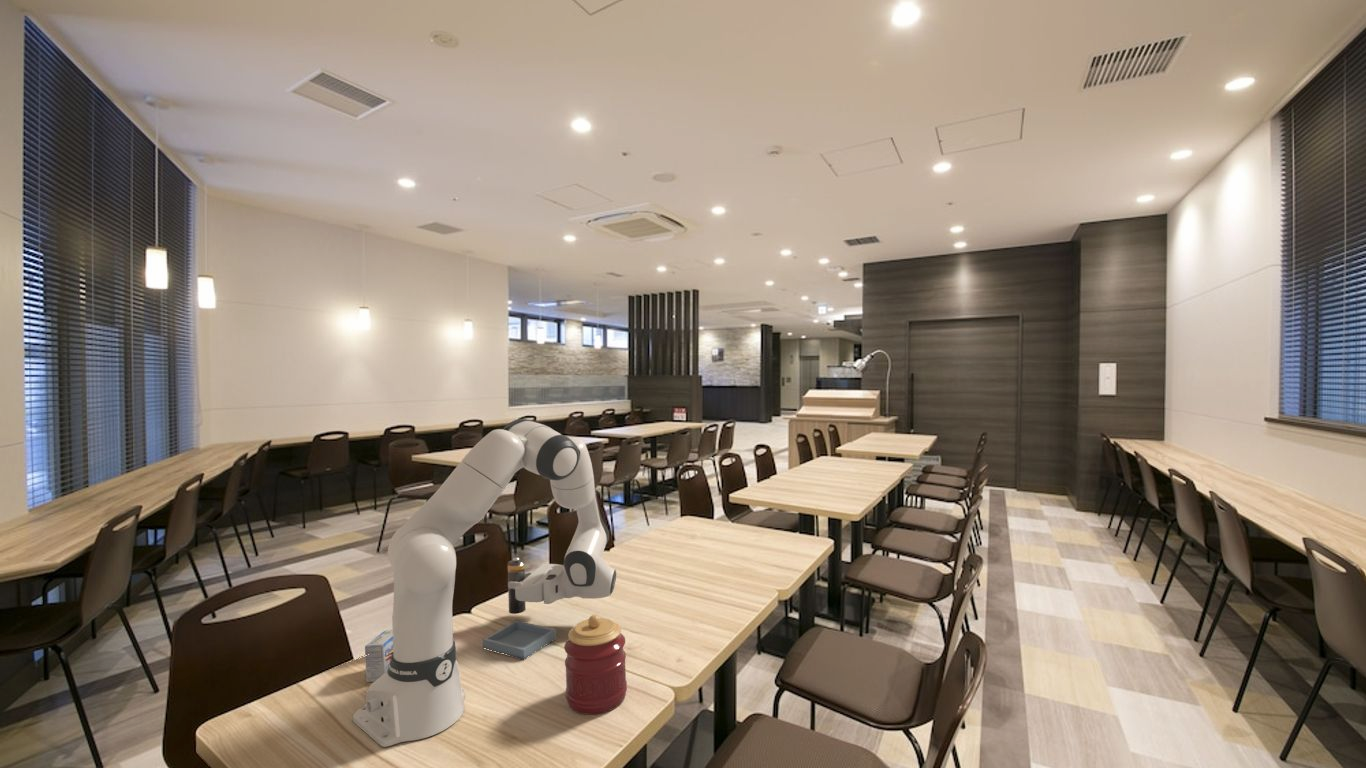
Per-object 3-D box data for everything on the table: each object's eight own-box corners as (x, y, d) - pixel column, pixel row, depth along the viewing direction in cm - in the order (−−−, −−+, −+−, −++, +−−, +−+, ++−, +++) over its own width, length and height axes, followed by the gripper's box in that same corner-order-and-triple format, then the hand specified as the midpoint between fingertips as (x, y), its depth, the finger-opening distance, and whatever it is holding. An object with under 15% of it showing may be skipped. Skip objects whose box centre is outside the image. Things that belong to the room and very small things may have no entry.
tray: (483, 649, 137) (482, 639, 137) (516, 629, 148) (516, 620, 148) (524, 660, 131) (523, 649, 131) (556, 638, 142) (555, 629, 142)
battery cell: (505, 612, 152) (504, 559, 152) (516, 606, 156) (515, 554, 156) (517, 614, 149) (516, 561, 150) (529, 608, 154) (527, 556, 154)
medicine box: (384, 682, 123) (383, 645, 123) (365, 682, 123) (364, 645, 123) (402, 664, 131) (401, 629, 131) (384, 665, 131) (383, 629, 131)
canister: (591, 675, 123) (589, 599, 123) (638, 689, 117) (636, 609, 117) (553, 706, 111) (550, 622, 112) (602, 723, 105) (599, 634, 105)
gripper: (571, 558, 162) (527, 558, 163) (546, 583, 141) (497, 582, 143) (571, 579, 161) (528, 578, 163) (547, 606, 141) (497, 605, 143)
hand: (513, 580), depth 153 cm, fingers closed on battery cell, 5 cm apart
